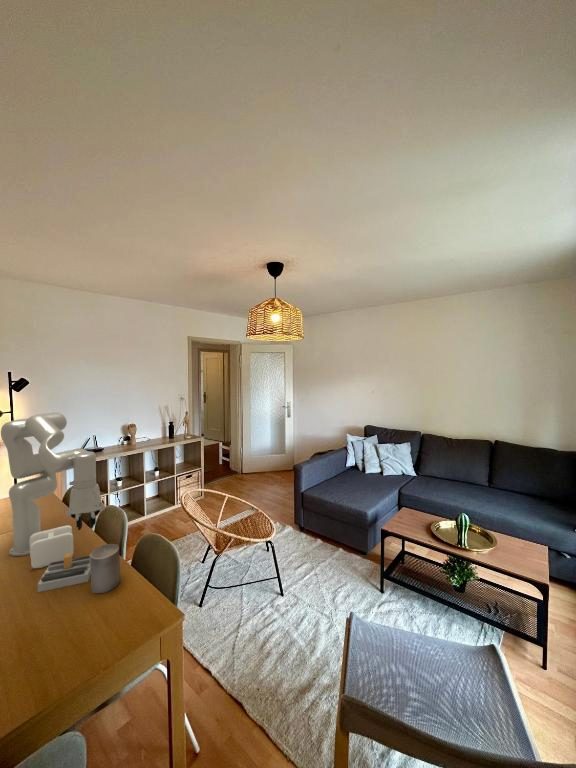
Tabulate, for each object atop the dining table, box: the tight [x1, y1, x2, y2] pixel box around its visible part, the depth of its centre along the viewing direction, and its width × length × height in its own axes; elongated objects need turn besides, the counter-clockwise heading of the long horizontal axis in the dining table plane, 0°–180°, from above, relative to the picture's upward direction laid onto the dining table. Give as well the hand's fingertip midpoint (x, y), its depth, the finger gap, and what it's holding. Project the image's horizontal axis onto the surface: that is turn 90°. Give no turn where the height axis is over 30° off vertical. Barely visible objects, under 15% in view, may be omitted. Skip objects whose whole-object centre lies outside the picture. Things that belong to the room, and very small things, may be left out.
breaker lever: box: [63, 553, 73, 569], centre depth 121 cm, size 3×3×6 cm
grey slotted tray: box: [37, 554, 91, 593], centre depth 122 cm, size 12×16×5 cm
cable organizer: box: [29, 524, 74, 569], centre depth 133 cm, size 15×11×12 cm
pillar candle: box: [89, 543, 121, 594], centre depth 117 cm, size 10×10×15 cm
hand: (86, 527), depth 123 cm, fingers open, 3 cm apart
